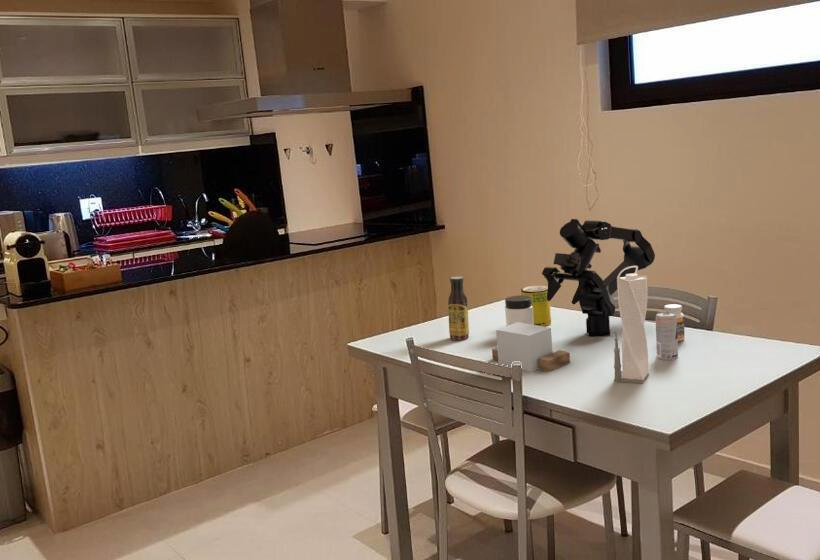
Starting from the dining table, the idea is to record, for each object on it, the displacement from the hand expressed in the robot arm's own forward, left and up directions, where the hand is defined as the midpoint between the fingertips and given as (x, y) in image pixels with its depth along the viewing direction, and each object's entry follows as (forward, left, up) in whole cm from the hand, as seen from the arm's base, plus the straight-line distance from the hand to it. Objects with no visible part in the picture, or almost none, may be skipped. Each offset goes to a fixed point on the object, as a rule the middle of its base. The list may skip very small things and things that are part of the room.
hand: (560, 302), depth 218 cm
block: (+9, +14, -14) cm, 22 cm away
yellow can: (+10, -27, -14) cm, 32 cm away
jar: (+14, -14, -14) cm, 24 cm away
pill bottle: (-31, -6, -14) cm, 35 cm away
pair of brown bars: (+8, +12, -14) cm, 20 cm away
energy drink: (-28, +11, -14) cm, 33 cm away
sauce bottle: (+33, -12, -14) cm, 37 cm away
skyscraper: (-19, +27, -14) cm, 36 cm away
